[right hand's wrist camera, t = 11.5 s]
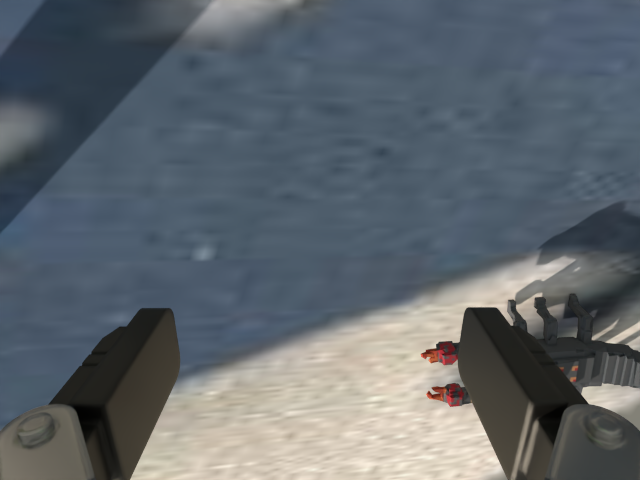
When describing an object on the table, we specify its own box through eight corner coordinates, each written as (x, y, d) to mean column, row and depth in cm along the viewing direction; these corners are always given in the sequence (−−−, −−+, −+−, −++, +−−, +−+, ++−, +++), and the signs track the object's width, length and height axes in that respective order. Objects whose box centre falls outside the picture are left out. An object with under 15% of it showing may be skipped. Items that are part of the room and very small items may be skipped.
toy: (637, 384, 50) (801, 544, 33) (415, 402, 51) (463, 566, 34) (660, 286, 45) (866, 415, 28) (413, 308, 46) (467, 446, 29)
